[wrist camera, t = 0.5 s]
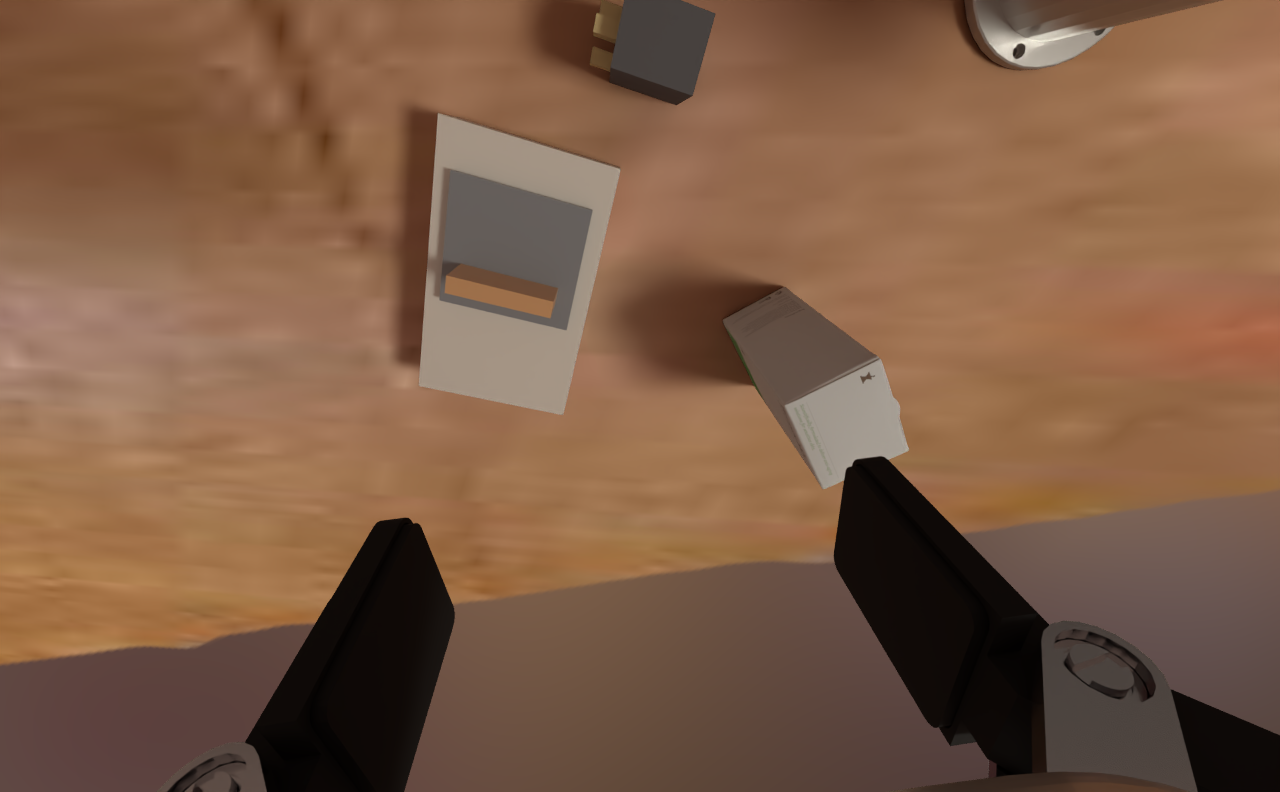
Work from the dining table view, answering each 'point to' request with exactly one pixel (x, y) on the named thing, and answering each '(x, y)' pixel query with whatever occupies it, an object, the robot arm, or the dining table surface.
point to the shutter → (511, 250)
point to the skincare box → (817, 384)
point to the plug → (653, 46)
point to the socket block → (491, 343)
